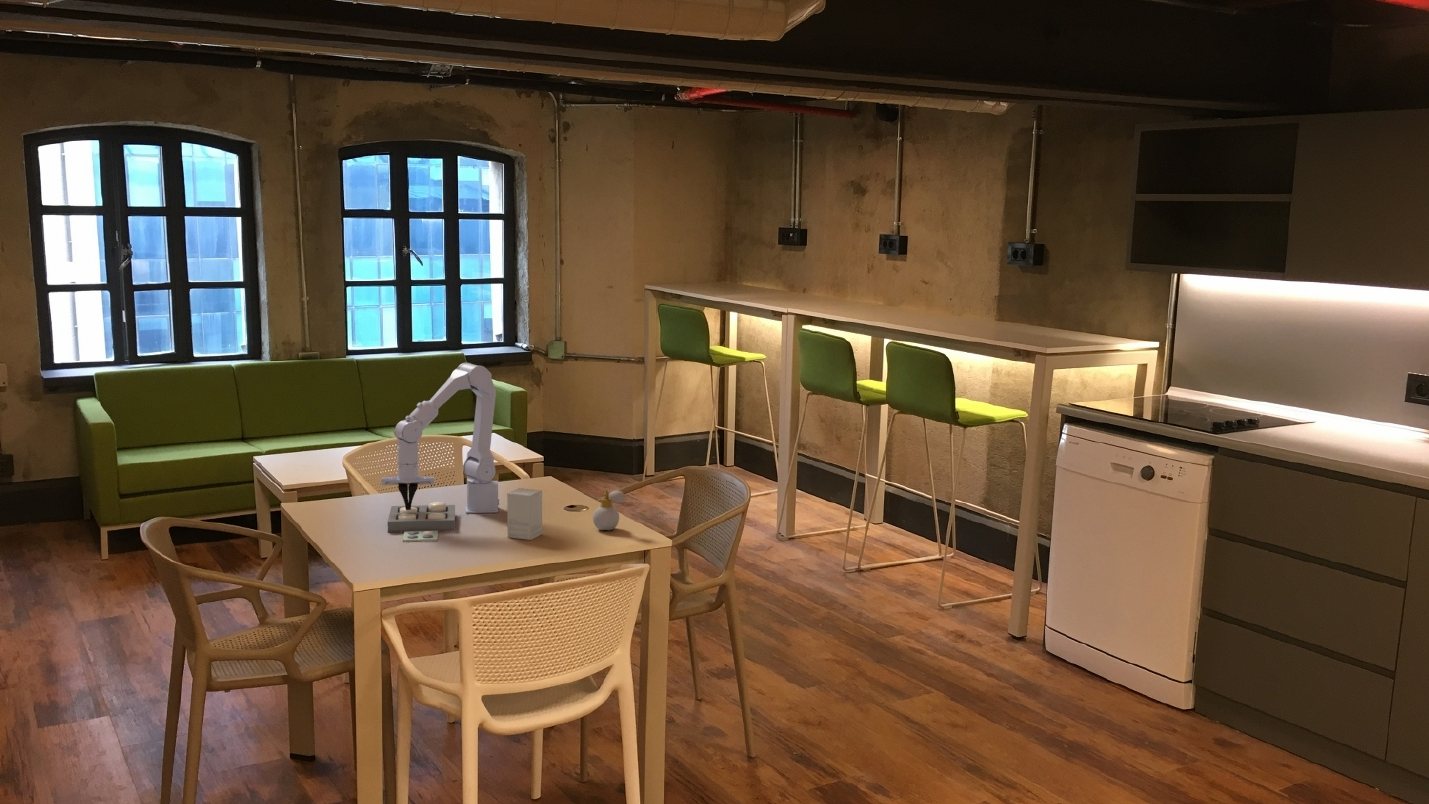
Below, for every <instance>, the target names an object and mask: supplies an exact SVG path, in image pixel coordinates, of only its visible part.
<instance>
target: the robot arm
mask: <svg viewBox="0 0 1429 804" xmlns="http://www.w3.org/2000/svg"><path fill="white" fill-rule="evenodd" d="M492 375H493V374H492V373H491V372H490V371H489V370H488V369H487V368H486V367H485V366H484V365H478V364H477V365H476V364H473V363H471V362H463V363H461V364H459V365H458V366H457V368H455V369H454V370H453V371H452V373H451V375H450V376H449V377H448V378H447V379H446V381H445V382H444V383H443V384H442V385H441V387H440V388H439V389H438V390H437V391H436V393H435V394H434V395H433V396H432V397H431V398H430V400H423V401H422V402H417V404H416V408H415V409H414V410H413V411H411V413H410V414H409V415H406V416H405V419H403V420H400V421H399V422H398V423H397V424H396V425H395V428H394V430H393V435H394V436H395V438H396V439H397V476H386V477H385V476H383V477H381V486H387V485H388V486H390V485H391V486H394V485H395V486H396V485H398V487H397V488H398V490H399V492H400V494H401V497H402V500H403V503H404V506H405V508H406V510H411V506H412V503H413V500H414V497H415V494H416V492H417V490H418V487H419V486H418V485H431V486H432V485H433V486H434V485H435V476H423V475H419V440H421V438H422V436H423V431H424V430H425V429H426V427H428V426H429V425H430V424H431V422H433V421H434V420H435V418H437V417H438V415H439V409H440V408H441V407H442V405H444V404H445V403H446V402H447V401H448V400H450V399H451V397H452V396H454V395H455V394H456V393H457V392H458V391H462V390H468V389H469V390H471V391H472V392H473V393H474V394H475V395H476V402H475V413H474V423H473V431H472V432H473V433H472V441H471V448H470V449H469V450H468V451H467V454H466V458H465V460H464V462H463V464H462V470H463V474H464V475H466V505H465V507H464V509H465V513H466V514H479V513H481V514H482V513H487V514H488V513H498V512H499V506H500V499H499V480H493V478H494V477H495V475H496V466H495V457H494V455H493V452H491V446H492V445H491V443H492V435H493V434H492V433H493V425H494V424H493V423H494V415H495V407H496V398H497V397H496V396H497V390H496V387H495V383H494V382H493V379H492Z"/></svg>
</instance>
